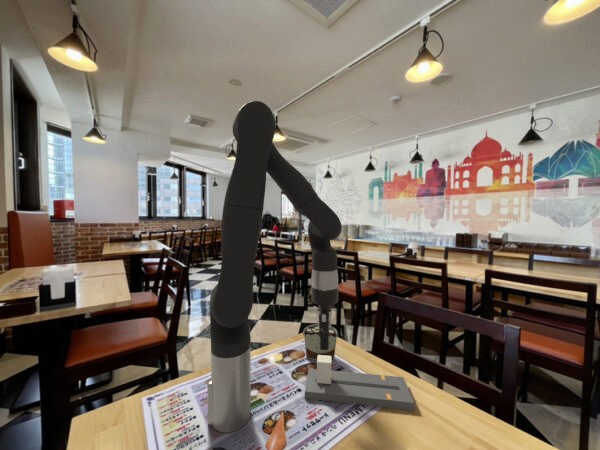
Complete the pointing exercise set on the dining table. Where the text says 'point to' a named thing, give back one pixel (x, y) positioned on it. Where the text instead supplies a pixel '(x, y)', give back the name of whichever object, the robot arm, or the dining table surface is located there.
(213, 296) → the robot arm
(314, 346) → the food container
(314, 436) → the dining table surface
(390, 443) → the dining table surface
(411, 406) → the fader board
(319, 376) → the slider handle
